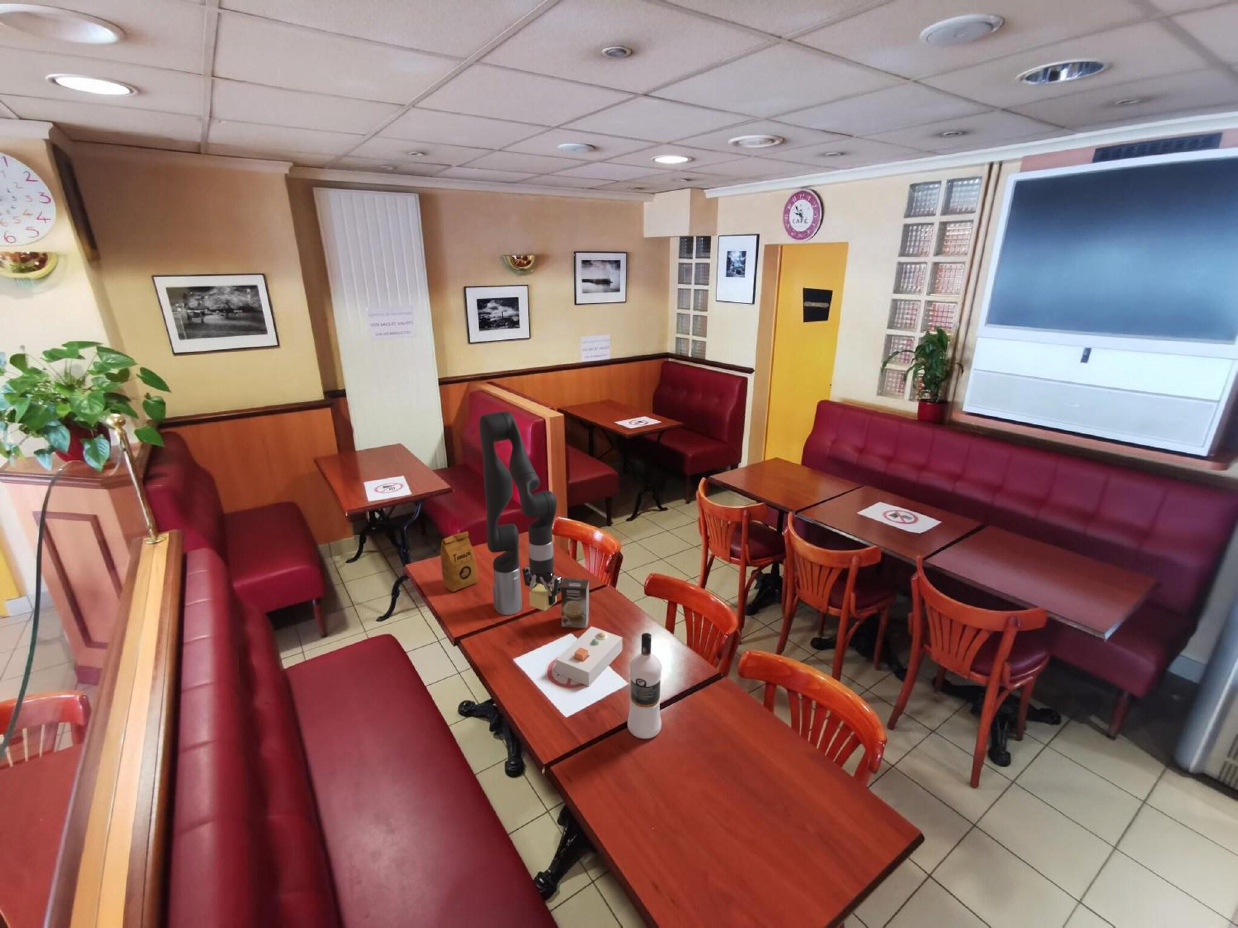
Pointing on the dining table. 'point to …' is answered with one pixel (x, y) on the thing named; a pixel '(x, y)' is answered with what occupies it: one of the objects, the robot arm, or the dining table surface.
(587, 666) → the panel
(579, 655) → the button
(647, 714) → the vodka
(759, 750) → the dining table surface
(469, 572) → the coffee package
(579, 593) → the coffee box
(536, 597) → the cap
